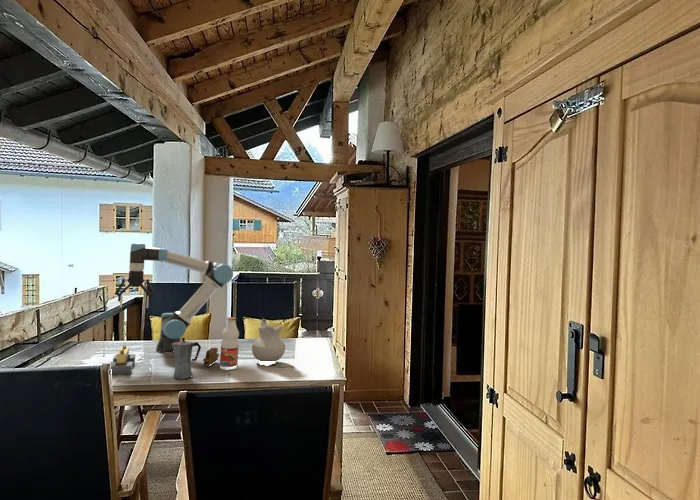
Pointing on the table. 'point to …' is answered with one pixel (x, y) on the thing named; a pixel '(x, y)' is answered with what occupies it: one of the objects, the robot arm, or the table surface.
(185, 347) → the moka pot
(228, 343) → the fruit juice
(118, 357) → the yellow block with knob
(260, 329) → the ceramic pitcher
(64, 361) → the table surface
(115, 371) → the end link
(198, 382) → the table surface
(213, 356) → the wooden carving
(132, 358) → the end link
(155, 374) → the table surface
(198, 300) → the robot arm
